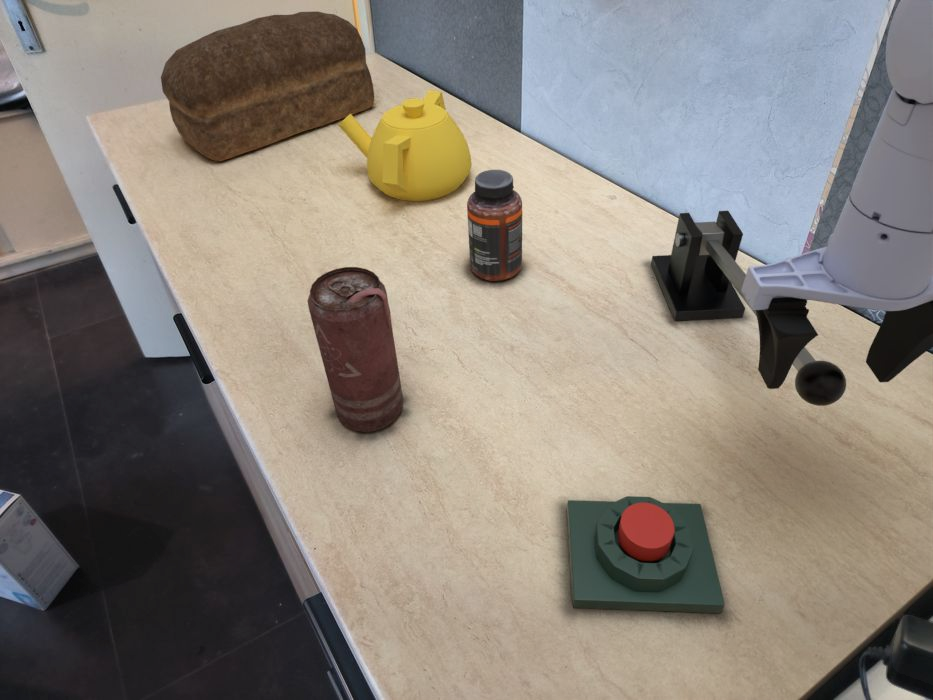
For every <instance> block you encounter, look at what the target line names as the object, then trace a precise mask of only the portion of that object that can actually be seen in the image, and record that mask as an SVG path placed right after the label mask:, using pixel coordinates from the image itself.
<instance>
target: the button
mask: <svg viewBox="0 0 933 700" xmlns="http://www.w3.org/2000/svg"><path fill="white" fill-rule="evenodd" d="M674 530H675V528H674V523H673V521H672V519H671V517H670V516H669V514H668V513H667V512H666V511H665V510H663V509H662V508H660V507H658V506H656V505H654V504H651V503H636V504H633V505H631V506H629V507H628V508H626V509H625V511H624V512H623V514H622V516H621V520H620V525H619V529H618V540H619V543H620V545H621V547H622V548H623V550H624V551H625V552H626V553H627V554H629V555H630V556H631V557H633V558H635V559H638V560H641V561H656V560H659V559H661V558H662V557H664V556H665V555H666V554H667V552H668V551H669V548H670V545H671V542H672V539H673V536H674Z"/></svg>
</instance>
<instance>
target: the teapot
mask: <svg viewBox="0 0 933 700" xmlns="http://www.w3.org/2000/svg"><path fill="white" fill-rule="evenodd" d="M337 126H338V127H339V129H341V130H342V132H343V133H344V134H345V135H346V136H347V137H348V138H349V139H350V141H351V142H352V143H353V144H354V146H356V147H357V148H358V150H359V151H360V152H361V153H362V154H363V156H364V157H365V158H366V172H367V176H368V178H369V181H371V183H372V184H373V185H374V186H375V187H376V188H378V190H380V191H381V192H382V193H384V194H385V195H386V196H389V197H391V198H392V199H393V198H394V199H395V200H396V199H397V200H400V201H401V200H402V201H406V202H407V201H408V202H425V201H430V200H437V199H439V198H440V199H441V198H442V197H446V196H448V195H450V194H451V193H453V192H454V191H456V190H457V189H458V188H459V187H460V186H461V185H462V184H463V183H464V182H465V180H466V179H467V178H468V176H469V174H470V172H471V170H472V166H473V165H472V156H471V150H470V148H469V145H468V142H467V139H466V138H465V135H464V133H463V132H462V130H461V129H460V127H459V125H458V124H457V123H456V121H455V120H454V119H453V117H452V116H451V114H450V113H449V112H447V110H446V105H445V100H444V96H443V92H442V91H441V90H431V89H429V90H428V91H427V92H426V94H425V95H424V97H423V99H422V98H419V97H418V98H417V97H412V98H407V99H405V100H403V101H402V103H401V104H399V105H396V106H394V107H391V108H390V109H388V110H386V112H385V113H383V115H382V116H381V118H380V119H379V122H378V123H377V125H376V127H375V130H374V132H373V134H372V136H370V134H369V133H368V132H367V131H366V129H364V127H363V126H362V125H361V124H360V122H359V121H358V120H357V119H356V118H355V117H354V115H351V114H350V115H348V116H347V117H344V118H343V120H341V121H340V122H339V123H338V124H337Z"/></svg>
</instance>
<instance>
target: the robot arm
mask: <svg viewBox="0 0 933 700" xmlns="http://www.w3.org/2000/svg"><path fill="white" fill-rule="evenodd" d="M885 68H886V73H887V77H888V80H889V83H890V84H891V86H892V89H891V91H890V94H889V97H888V99H887V101H886V104H885V106H884V109H883V111H882V113H881V116H880V118H879V121H878V122H877V126H876V128H875V130H874V133H873V135H872V138H871V140H870V141H869V145H868V147H867V149H866V151H865V155H864V156H863V159H862V162H861V165H860V167H859V169H858V171H857V174H856V176H855V179H854V181H853V183H852V186H851V189H850V191H849V193H848V196H847V198H846V201H845V203H844V205H843V208H842V211H841V213H840V215H839V217H838V220H837V223H836V225H835V227H834V230H833V231H832V233H830V235H829V238H828V239H827V241H826V244H827V245H826V246H823V247H820V248H816V249H813V250H810V251H807V252H804V253H801V254H798V255H795V256H792V257H788V258H785V259H782V260H780V261H776V262H772V263H767V264H762V265H752V266H748V267H747V271H746V273H745V274H746V277H745V280H744V283H743V286H742V289H741V291H742V293H743V295H744V297H745V299H746V301H747V303H748V304H749V306H750V307H749V306H748V307H749V309H750V308H751V309H752V310H755V311H756V315H757V317H756V320H757V325H758V335H759V336H758V337H759V357H758V358H759V359H758V368H757V370H758V372H759V374H760V376H761V378H762V380H763V382H764V384H765V385H766V388H767V389H769V390H775V389H777V390H778V389H780V387H781V386H782V385H783V383H784V382H785V381H786V379H787V377H788V374H789V373H790V371H791V368H792V366H793V362H794V360H795V359H796V357H797V356H798V354H799V353H800V352H801V350H802V349H803V348H804V347H805V348H806V347H807V345H808V344H809V343H810V342H811V341H813V340H814V339H815V338H817V336H819V334H818V332H817V330H816V329H815V328H814V326H813V324H812V322H811V321H810V319H809V318H808V315H809V312H810V309H809V308H807V307H806V306H807V304H808V301H814V302H820V303H827V304H833V305H840V306H846V307H853V308H860V309H867V310H873V311H882V312H885V313H884V316H883V319H882V321H881V324H880V326H879V328H878V330H877V331H876V334H875V336H874V339H873V340H872V342H871V344H870V346H869V349H868V352H867V355H866V359H865V363H866V365H867V367H868V368H869V369H870V371H871V372H872V374H873V375H874V376H875V378H876V379H877V381H878V382H879V383H889V382H890V381H893V379H894V378H895V377H897V376H898V375H899V374H900V373H902V372H903V371H904V370H905V369H906V368H907V367H909V366H910V365H911V364H912V363H913V362H915V361H916V360H917V359H919V358H920V357H921V356H922V355H923V354H925V353H926V352H928V351H929V350H931V349H932V348H933V0H900V1H899V2H898V4H897V7H896V8H895V11H894V13H893V15H892V18H891V21H890V25H889V28H888V33H887V37H886V44H885ZM747 303H746V304H747ZM751 309H750V310H751ZM752 310H751V311H752ZM756 315H755V316H756Z"/></svg>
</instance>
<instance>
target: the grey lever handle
mask: <svg viewBox="0 0 933 700" xmlns="http://www.w3.org/2000/svg"><path fill="white" fill-rule="evenodd" d="M694 223H695V224H696V226H697V228H698V230H699V232H700V233H701V235H702V238H701V242H700V246H699V251H698V255H699V256H701V255H710V256H711V257H712V258H713V260H714V261H715V262H716V264H717V265H718V266H719V268H720V269H721V270H722V271H723V273H724V274H725V275H726V277H727V278H728V279H729V281H730V282H731V284H732V285H733V287H734V289H735V291H736V292H737V294H738V295H739V296H740V297H741V298H742V299H743V301H744V302H745V303H746V305H747V306H748V307H749V309H750V310H751V312H752V313H753V314H754V316H755V317H756V318H757V315H756V311H755V310H752V309H751V308H750V306H749V304H748V303H747V301H746V299H745V297H744V295H743V293H742V291H741V289H742V286H743V283H744V280H745V277H746V274H747V273H746V272H745V271H744V270H743V268H742V267H741V266H740V265H739V264H738V262H737V261H735V260H734V259H733V258H732V257H731V255H730V254H729V253H728V252H727V251H726V249H725V248H724V247H723V246H722V243H723V238H724V232H723V231H722V229H721V228H720V227H719V226H718V225H717V223H716V221H701V222H694ZM792 366H793V367H794V368H795V370H796V371H797V373H796V375H795V378H794V387H795V391H796V393H797V394H798V396H799V397H800V398H801V399H802V400H803V401H804V402H806V403H808V404H810V405H813V406H817V407H824V406H830V405H832V404H835V403H836V402H837V401H838V400H840V399H841V398H843V395H844V394H845V392H846V389H847V379H846V375H845V373H844V372H843V370H842V369H841V368H840V367H839V366H837V365H836V364H835V363H832V362H830V361H827V360H826V361H825V360H816V359H815V358H814V357H813V355H812V354H811V353H810V351H809V350H808V349H807V348H806V346H805V347H804V348H803V349H802V350H801V352H800V353H799V354H798V356H797V357H796V359H795V360H794V362H793V364H792Z"/></svg>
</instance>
